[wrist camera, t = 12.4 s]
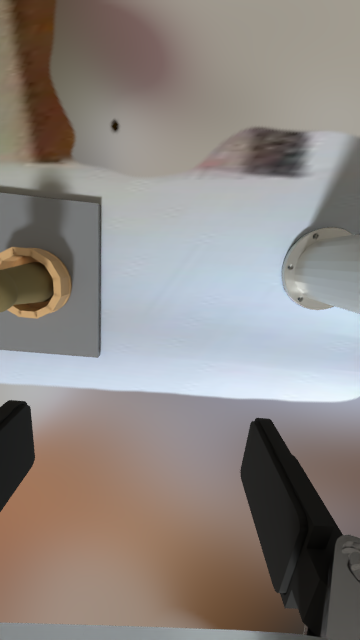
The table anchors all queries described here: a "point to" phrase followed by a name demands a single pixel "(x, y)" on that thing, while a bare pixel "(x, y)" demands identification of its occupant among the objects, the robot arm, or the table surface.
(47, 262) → the tan shallow bowl
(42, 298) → the cork
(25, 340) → the slate board
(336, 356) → the table surface
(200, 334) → the table surface
